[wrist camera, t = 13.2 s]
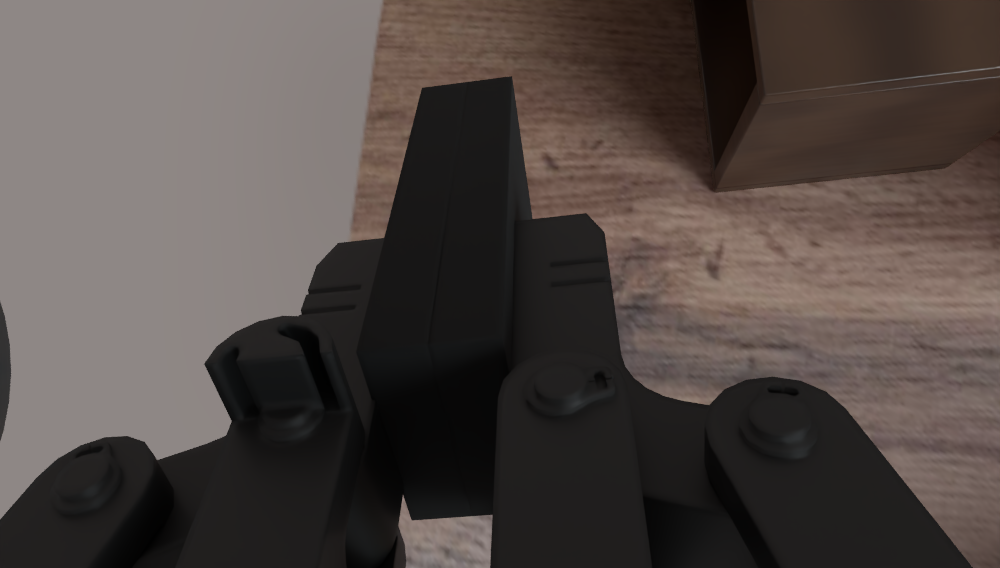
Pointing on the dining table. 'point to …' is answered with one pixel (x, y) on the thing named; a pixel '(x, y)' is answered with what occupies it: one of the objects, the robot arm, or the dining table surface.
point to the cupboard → (844, 86)
